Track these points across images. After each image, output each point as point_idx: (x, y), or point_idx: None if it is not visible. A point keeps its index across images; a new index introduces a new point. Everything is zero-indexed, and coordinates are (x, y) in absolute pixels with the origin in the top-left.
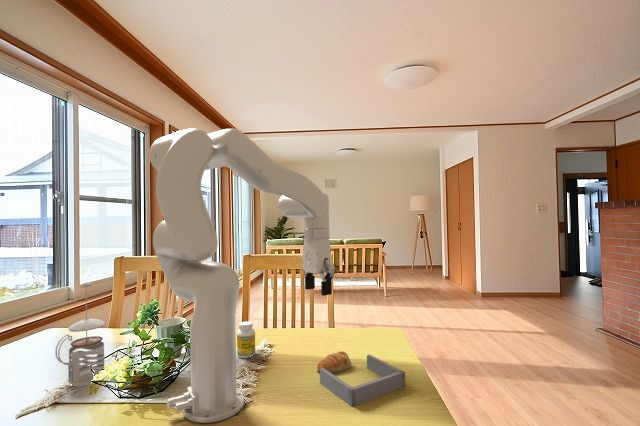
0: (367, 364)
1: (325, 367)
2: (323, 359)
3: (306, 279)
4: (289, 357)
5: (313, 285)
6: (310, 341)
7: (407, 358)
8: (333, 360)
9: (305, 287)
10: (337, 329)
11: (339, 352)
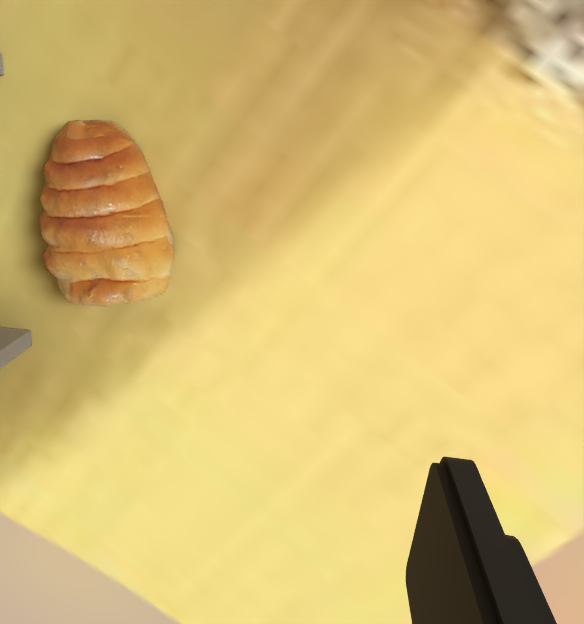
0: (16, 337)
1: (55, 140)
2: (113, 177)
3: (474, 603)
4: (372, 107)
5: (414, 598)
6: (483, 343)
7: (30, 510)
8: (56, 202)
9: (462, 473)
10: None
11: (113, 287)
